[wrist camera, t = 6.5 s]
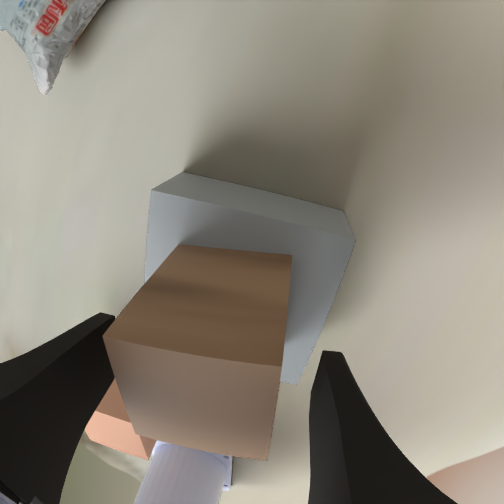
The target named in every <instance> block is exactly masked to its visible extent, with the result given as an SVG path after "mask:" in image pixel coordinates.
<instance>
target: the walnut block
mask: <svg viewBox="0 0 504 504" xmlns="http://www.w3.org/2000/svg"><path fill="white" fill-rule="evenodd" d="M291 263H292V255H285V254H275V253H264V252H254V251H243V250H233V249H222V248H212V247H201V246H191V245H180V244H178V245H177V246H176V247H175V249H174V250H173V251H172V252H171V253H170V254H169V256H168V257H167V258H166V259H165V260H164V261H163V263H162V264H161V265H160V266H159V267H158V268H157V270H156V271H155V272H154V273H153V274H152V275H151V277H150V278H149V279H148V280H147V281H146V283H145V284H144V285H143V286H142V287H141V289H140V290H139V291H138V292H137V293H136V295H135V296H134V297H133V298H132V300H131V301H130V302H129V303H128V304H127V306H126V307H125V308H124V309H123V311H122V312H121V313H120V314H119V316H118V317H117V318H116V319H115V321H114V322H113V323H112V324H111V326H110V327H109V328H108V329H107V331H106V332H105V333H104V334H103V340H104V343H105V347H106V350H107V354H108V357H109V360H110V364H111V367H112V370H113V373H114V376H115V379H116V382H117V385H118V388H119V391H120V394H121V397H122V400H123V403H124V405H125V408H126V411H127V413H128V416H129V419H130V421H131V424H132V426H133V429H134V431H135V434H137V435H140V436H143V437H147V438H151V439H154V440H158V441H162V442H166V443H170V444H174V445H178V446H183V447H187V448H192V449H196V450H201V451H206V452H212V453H217V454H223V455H229V456H235V457H242V458H249V459H257V460H265V461H267V459H268V453H269V448H270V442H271V436H272V430H273V423H274V417H275V411H276V404H277V398H278V391H279V384H280V378H281V371H282V362H283V353H284V343H285V333H286V322H287V311H288V300H289V288H290V276H291Z"/></svg>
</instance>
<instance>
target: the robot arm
mask: <svg viewBox="0 0 504 504" xmlns="http://www.w3.org/2000/svg"><path fill="white" fill-rule="evenodd" d="M114 321H115V316H113V315H109V314H105V313H98V314H96V315H94V316H93V317H91V318H89V319H87V320H85V321H84V322H82V323H80V324H78V325H77V326H75V327H73V328H72V329H70V330H68V331H66V332H65V333H63V334H61V335H59V336H58V337H56V338H54V339H52V340H50V341H48V342H47V343H45V344H43V345H41V346H39V347H37V348H35V349H33V350H31V351H29V352H27V353H25V354H23V355H21V356H18V357H16V358H13V359H11V360H8V361H6V362H3V363H0V504H19V502H20V503H22V504H59V502H60V498H61V493H62V489H63V486H64V482H65V479H66V475H67V472H68V469H69V466H70V463H71V460H72V458H73V455H74V452H75V450H76V447H77V445H78V443H79V440H80V438H81V436H82V433H83V431H84V429H85V427H86V425H87V424H88V422H89V420H90V419H91V417H92V415H93V414H94V412H95V410H96V409H97V407H98V405H99V404H100V402H101V400H102V399H103V397H104V396H105V394H106V392H107V391H108V389H109V387H110V386H111V384H112V382H113V381H114V378H115V376H114V373H113V370H112V367H111V364H110V360H109V357H108V354H107V350H106V347H105V343H104V340H103V334H104V333H105V332H106V331H107V329H108V328H109V327H110V326H111V324H112V323H113V322H114ZM309 434H310V469H311V476H310V491H309V500H308V504H457V503H456V502H455V501H453V500H452V499H450V498H449V497H448V496H446V495H445V494H444V493H442V492H441V491H440V490H439V489H438V488H437V487H435V486H434V485H433V484H432V483H431V482H430V481H429V480H427V479H426V478H425V477H424V476H423V474H422V473H421V472H420V471H419V470H418V469H417V468H416V467H415V466H414V465H413V464H412V463H411V462H410V461H409V460H408V459H407V458H406V457H405V455H404V454H403V453H402V452H401V451H400V449H399V448H398V447H397V446H396V444H395V443H394V442H393V441H392V439H391V438H390V437H389V435H388V434H387V432H386V431H385V430H384V428H383V427H382V425H381V424H380V422H379V421H378V419H377V417H376V416H375V414H374V413H373V411H372V409H371V408H370V406H369V404H368V403H367V401H366V399H365V397H364V396H363V394H362V392H361V390H360V388H359V386H358V385H357V383H356V381H355V379H354V377H353V375H352V373H351V370H350V368H349V366H348V364H347V362H346V360H345V357H344V355H343V354H342V353H341V352H335V351H324V350H323V351H322V355H321V359H320V362H319V366H318V369H317V373H316V376H315V380H314V383H313V387H312V390H311V398H310V411H309ZM152 455H153V457H152V459H151V462H150V464H149V466H148V469H147V471H146V474H145V476H144V479H143V481H142V484H141V486H140V489H139V491H138V494H137V496H136V499H135V501H134V504H219V502H220V498H221V494H222V490H230V488H231V473H232V457H233V456H229V455H223V454H217V453H212V452H206V451H201V450H196V449H192V448H187V447H183V446H178V445H174V444H170V443H166V442H162V441H158V440H157V441H156V444H155V446H154V448H153V451H152Z"/></svg>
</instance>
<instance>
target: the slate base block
mask: <svg viewBox="0 0 504 504" xmlns="http://www.w3.org/2000/svg"><path fill="white" fill-rule="evenodd" d="M355 242H356V239H355V237H354V234H353V232H352V229H351V227H350V224H349V222H348V219H347V217H346V214H345V212H344V211H341V210H338V209H334V208H331V207H327V206H323V205H320V204H316V203H312V202H308V201H304V200H301V199H297V198H293V197H289V196H285V195H281V194H277V193H273V192H269V191H265V190H261V189H256V188H252V187H248V186H244V185H239V184H235V183H231V182H226V181H222V180H217V179H213V178H208V177H204V176H199V175H194V174H189V173H184V172H182V173H180V174H178V175H176V176H175V177H173V178H171V179H169V180H168V181H166V182H164V183H162V184H161V185H159V186H157V187H155V188H154V189H152V190H151V195H150V205H149V216H148V228H147V241H146V257H145V276H144V284H145V283H146V281H147V280H148V279H149V278H150V277H151V275H152V274H153V273H154V272H155V271H156V270H157V268H158V267H159V266H160V265H161V264H162V263H163V261H164V260H165V259H166V258H167V257H168V256H169V254H170V253H171V252H172V251H173V250H174V249H175V247H176V246H177V245H178V244H180V245H191V246H201V247H212V248H222V249H233V250H243V251H254V252H264V253H275V254H285V255H292V263H291V276H290V288H289V300H288V311H287V322H286V333H285V343H284V353H283V362H282V371H281V378H280V382H285V383H289V384H294V385H297V384H298V382H299V380H300V377H301V375H302V373H303V371H304V369H305V366H306V364H307V362H308V360H309V358H310V355H311V353H312V351H313V348H314V346H315V344H316V342H317V339H318V337H319V335H320V332H321V330H322V327H323V325H324V323H325V320H326V318H327V315H328V313H329V310H330V308H331V305H332V303H333V300H334V298H335V295H336V293H337V290H338V288H339V285H340V282H341V280H342V277H343V275H344V272H345V269H346V267H347V264H348V261H349V258H350V256H351V253H352V250H353V247H354V244H355Z"/></svg>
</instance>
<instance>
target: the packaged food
mask: <svg viewBox="0 0 504 504" xmlns="http://www.w3.org/2000/svg"><path fill="white" fill-rule="evenodd" d="M105 1H106V0H0V30H1V31H3V30H5V29H6V30H7V32H8V33H9V35H10V36H11V37H13V38H14V39H15V41H16V42H17V43H18V45H19V46H20V47H21V48H22V50H23V51H24V52H25V54H26V57H27V59H28V62H29V65H30V67H31V70H32V72H33V77H34V79H35V81H36V83H37V85H38V88H39V90H40V92H41V93H43V94H44V95H47V94H48V93H49V92H50V90H51V89H52V85H53V84H54V81H55V79H56V77H57V75H58V73H59V70H60V67H61V64H62V61H63V59H64V58H65V57H67V56H68V55H69V53H70V52H71V50H72V49H73V47H74V44H75V43H76V42H77V40H78V39H79V37H80V36H81V34H82V33H83V31H84V30H85V28H86V27H87V25H88V24H89V22H90V21H91V19H92V18H93V17H94V15H95V14H96V12H97V11H98V9H99V8H100V7H101V6H102V4H103V3H104V2H105Z"/></svg>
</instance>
